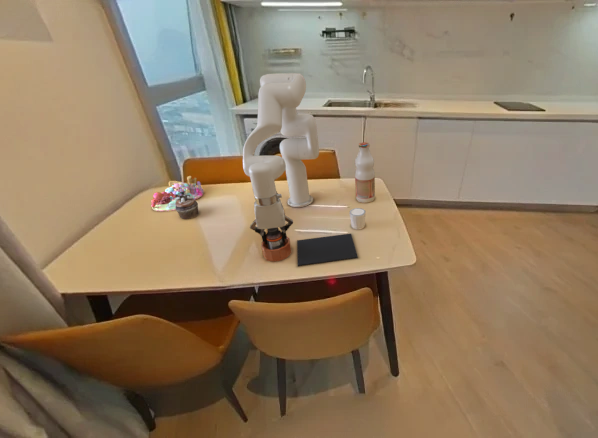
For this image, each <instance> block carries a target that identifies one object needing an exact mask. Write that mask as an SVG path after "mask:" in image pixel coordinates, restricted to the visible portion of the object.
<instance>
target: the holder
mask: <svg viewBox="0 0 598 438" xmlns="http://www.w3.org/2000/svg"><path fill="white" fill-rule="evenodd" d="M260 248H261V252H262V256H263V258H264V259H265V260H266V261H268V262H281V261H283V260H285V259H287V258H289V257H290V256H291V254H292V244H291V239H290V237H288V236H287V239H285V242H284V247H281V248H279V249H273V250H271V249H269V248H268V244H266V245H265V242H263V240H262V241H261V245H260Z"/></svg>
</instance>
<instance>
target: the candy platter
mask: <svg viewBox="0 0 598 438" xmlns="http://www.w3.org/2000/svg"><path fill="white" fill-rule="evenodd" d="M186 180H187V181H185V182H183V181H181V180H180V181H179V180H177V181H176V180H169V181H168V187H165V188H164V189H165V190H164V191H161V192H159V191H156V192H154V193H153V195H152V199H151V200H150V203H151V204H150V207H151V209H152V210H153V211H154V212H155V211H156V212H171V211H172V212H173V211H176V205H175V203H176V201H177V200H176V198H177V196H181V195H183V194H185V193H186V194H187V195H190V196H192V197H193V199H194V200H198V199H199V198H201V197H203V195H204V194H205V192H204V188H202V183H201V182H200V181H197V177H193V178H192V176H191V175H189V176H186Z"/></svg>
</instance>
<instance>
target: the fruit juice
mask: <svg viewBox="0 0 598 438" xmlns="http://www.w3.org/2000/svg"><path fill="white" fill-rule="evenodd" d="M370 146H371V145H370V142H367V141H363V142H359V143H358V148H359V149H358V153H357V156H356V157H355V159H354V165H355V171H354V181H355V184H354V185H355V198H356V201H358V202H359V203H362V204H363V203H365V204H367V203H372V202H374V201H375V198H376V181H375V180H376V179H375V178H376V175H375V173H376V172H375V168H374V166H375V159H374V157H373V155H372V153H371V150H370Z"/></svg>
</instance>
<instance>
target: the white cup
mask: <svg viewBox="0 0 598 438" xmlns="http://www.w3.org/2000/svg"><path fill="white" fill-rule="evenodd" d="M349 219H350V225H351V228H352V229H353V230H362V229H364V228H365V227H366V210H365V209H364V208H361V207H355V208H352V209H350V210H349Z"/></svg>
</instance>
